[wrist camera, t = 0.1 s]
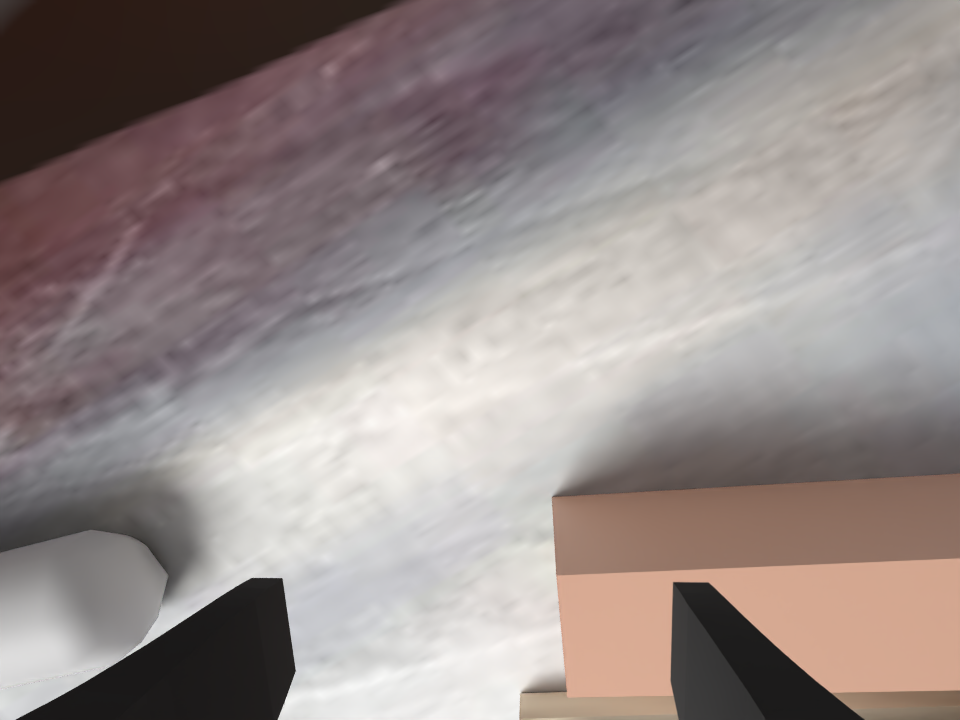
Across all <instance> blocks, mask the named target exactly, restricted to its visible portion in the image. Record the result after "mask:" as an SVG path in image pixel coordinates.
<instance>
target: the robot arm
mask: <svg viewBox="0 0 960 720" xmlns="http://www.w3.org/2000/svg"><path fill="white" fill-rule="evenodd" d="M295 671H296V670H295V663H294V656H293V649H292V642H291V635H290V628H289V621H288V614H287V607H286V600H285V593H284V586H283V579H282V578H251V579H249V580H247V581H246V582H244V583H242V584H240V585H238V586H237V587H235V588H234V589H232V590H230V591H229V592H227V593H226V594H224V595H222V596H221V597H219V598H218V599H216V600H215V601H213V602H212V603H210V604H208V605H207V606H205V607H204V608H202V609H201V610H199V611H198V612H196V613H195V614H193V615H192V616H190V617H189V618H187V619H186V620H184V621H183V622H181V623H179V624H178V625H176V626H175V627H173V628H172V629H170V630H169V631H167V632H166V633H164V634H163V635H161V636H160V637H158V638H156V639H155V640H153V641H152V642H150V643H149V644H147V645H146V646H144V647H142V648H141V649H139V650H137V651H136V652H134V653H132V654H131V655H129V656H127V657H126V658H124V659H123V660H121V661H119V662H118V663H116V664H114V665H113V666H111V667H109V668H108V669H106V670H104V671H103V672H101V673H100V674H98V675H96V676H95V677H93V678H91V679H90V680H88V681H86V682H85V683H83V684H81V685H79V686H78V687H76V688H74V689H72V690H71V691H69V692H67V693H65V694H63V695H61V696H60V697H58V698H56V699H54V700H52V701H51V702H49V703H47V704H45V705H43V706H41V707H39V708H37V709H35V710H33V711H31V712H29V713H28V714H26V715H24V716H22V717H20V718H18V719H16V720H278V717H279V715H280V712H281V710H282V707H283V704H284V702H285V699H286V696H287V694H288V691H289V688H290V685H291V682H292V680H293V677H294V674H295ZM670 681H671V686H672V691H673V695H674V700H675V705H676V710H677V714H678V719H679V720H865V719H863V718H862V717H861V716H859V715H858V714H857V713H855V712H854V711H853V710H852V709H850V708H849V707H848V706H847V705H845V704H844V703H843V702H842V701H840V700H839V699H838V698H837V697H835V696H834V695H833V694H832V693H830V692H829V691H828V690H827V689H825V688H824V687H823V686H822V685H821V684H819V683H818V682H817V681H816V680H814V679H813V678H812V677H811V676H810V675H809V674H807V673H806V672H805V671H804V670H803V669H802V668H800V667H799V666H798V665H797V664H796V663H795V662H793V661H792V660H791V659H790V658H789V657H788V656H787V655H785V654H784V653H783V652H782V651H781V650H780V649H779V648H778V647H777V646H775V645H774V644H773V643H772V642H771V641H770V640H769V639H768V638H767V637H766V636H765V635H763V634H762V633H761V632H760V631H759V630H758V629H757V628H756V627H755V626H754V625H753V624H752V623H751V622H750V621H749V620H747V619H746V618H745V617H744V616H743V615H742V614H741V613H740V612H739V611H738V610H737V609H736V608H735V607H734V606H733V605H732V604H731V603H730V602H729V601H728V600H727V599H726V598H725V597H724V596H723V595H721V594H720V593H719V592H718V591H717V590H716V589H715V588H714V587H713V586H712V585H711V584H710V583H709V582H673V599H672V638H671V678H670Z"/></svg>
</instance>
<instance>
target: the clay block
mask: <svg viewBox="0 0 960 720" xmlns="http://www.w3.org/2000/svg"><path fill="white" fill-rule="evenodd" d="M552 508H553V525H554V542H555V559H556V576H557V587H558V598H559V610H560V621H561V632H562V643H563V654H564V665H565V676H566V687H567V698H575V697H629V696H674V695H673V691H672V686H671V681H670V678H671V638H672V599H673V582H709V583H710V584H711V585H712V586H713V587H714V588H715V589H716V590H717V591H718V592H719V593H720V594H721V595H723V596H724V597H725V598H726V599H727V600H728V601H729V602H730V603H731V604H732V605H733V606H734V607H735V608H736V609H737V610H738V611H739V612H740V613H741V614H742V615H743V616H744V617H745V618H746V619H747V620H749V621H750V622H751V623H752V624H753V625H754V626H755V627H756V628H757V629H758V630H759V631H760V632H761V633H762V634H763V635H765V636H766V637H767V638H768V639H769V640H770V641H771V642H772V643H773V644H774V645H775V646H777V647H778V648H779V649H780V650H781V651H782V652H783V653H784V654H785V655H787V656H788V657H789V658H790V659H791V660H792V661H793V662H795V663H796V664H797V665H798V666H799V667H800V668H802V669H803V670H804V671H805V672H806V673H807V674H809V675H810V676H811V677H812V678H813V679H814V680H816V681H817V682H818V683H819V684H821V685H822V686H823V687H824V688H825V689H827V690H828V691H829V692H830V693H844V692H898V691H951V690H960V473H959V474H942V475H925V476H907V477H890V478H873V479H855V480H838V481H821V482H803V483H786V484H769V485H751V486H734V487H716V488H699V489H682V490H664V491H647V492H630V493H612V494H595V495H578V496H560V497H552Z"/></svg>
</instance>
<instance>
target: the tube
mask: <svg viewBox="0 0 960 720" xmlns="http://www.w3.org/2000/svg"><path fill="white" fill-rule="evenodd" d="M167 579H168V574H167V573H166V571H165V570H164V569H163V567H162V566H161V565H160V563H159V562H158V561H157V559H156V558H155V557H154V555H153V554H152V553H151V551H150V550H149V549H148V547H147V546H146V545H145V544H143V543H142V542H140V541H139V540H137V539H135V538H133V537H131V536H128V535H123V534H117V533H110V532H103V531H96V530H87V531H83V532H79V533H75V534H71V535H67V536H63V537H60V538H56V539H52V540H48V541H44V542H40V543H36V544H32V545H28V546H24V547H20V548H16V549H12V550H8V551H4V552H0V690H2V689H7V688H11V687H16V686H21V685H25V684H30V683H35V682H40V681H44V680H49V679H54V678H58V677H63V676H68V675H72V674H77V673H82V672H86V671H91V670H96V669H101V668H105V667H110V666H113V665H114V664H115V663H117V662H118V661H119V660H120V659H121V658H123V657H124V656H125V655H126V654H127V653H129V652H130V651H131V650H132V649H133V648H135V647H136V646H137V645H138V644H139V643H141V642H142V641H143V639H144V637H145V636H146V634H147V633H148V631H149V630H150V628H151V627H152V625H153V624H154V622H155V621H156V619H157V618H158V615H159V611H160V607H161V603H162V599H163V595H164V591H165V587H166V583H167Z"/></svg>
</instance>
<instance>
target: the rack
mask: <svg viewBox="0 0 960 720" xmlns="http://www.w3.org/2000/svg"><path fill="white" fill-rule="evenodd" d="M832 694H833V695H834V696H835V697H837V698H838V699H839V700H840V701H842V702H843V703H844V704H845V705H847V706H848V707H849V708H850V709H852V710H853V711H854V712H855V713H857V714H858V715H859V716H861V717H862V718H863V719H865V720H960V690H951V691H898V692H844V693H832ZM519 719H520V720H679V719H678V714H677V710H676V705H675V700H674V696H629V697H575V698H567V692H548V693H520V717H519Z"/></svg>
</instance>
